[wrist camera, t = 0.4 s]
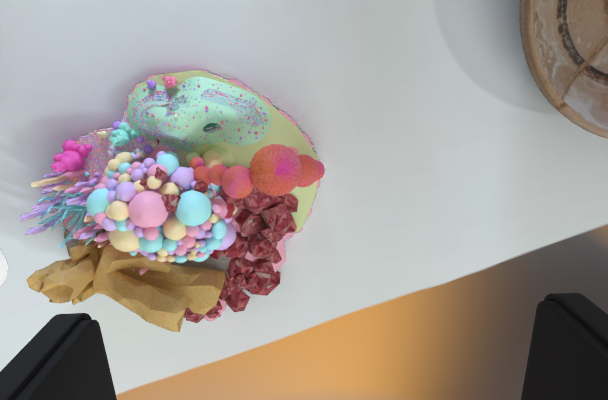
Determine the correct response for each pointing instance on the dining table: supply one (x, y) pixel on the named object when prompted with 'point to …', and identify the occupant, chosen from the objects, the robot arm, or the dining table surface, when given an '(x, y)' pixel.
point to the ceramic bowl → (569, 57)
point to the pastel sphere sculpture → (179, 201)
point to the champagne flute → (3, 268)
